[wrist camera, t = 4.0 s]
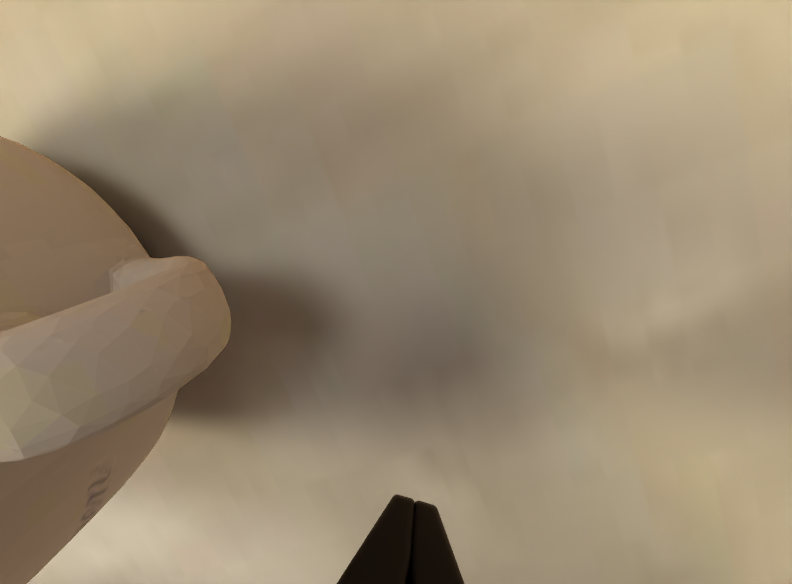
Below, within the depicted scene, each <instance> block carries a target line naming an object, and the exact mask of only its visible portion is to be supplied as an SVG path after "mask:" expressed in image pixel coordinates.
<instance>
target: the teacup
mask: <svg viewBox="0 0 792 584" xmlns="http://www.w3.org/2000/svg"><path fill="white" fill-rule="evenodd" d="M230 332H231V317H230V310H229V307H228V304H227V301H226V298H225V296H224V293H223V290H222V288H221V286H220V285H219V283H218V281H217V279H216V278H215V276H214V275H213V273H212V272H211V271H210V269H209V268H208V266H207V265H206V264H205V263H204V262H203V261H201V260H198V259H196V258H193V257H190V256H174V257H168V258H160V259H158V258H150V256H149V255H148V254H147V252H146V251H145V249H144V248H143V246H142V245H141V244H140V242H139V241H138V239H137V238H136V236H135V235H134V233H133V232H132V231H131V229H130V228H129V226H128V225H127V224H126V223H125V222H124V221H123V220H122V219H121V218H120V217H119V216H118V215H117V213H116V212H115V211H114V210H113V209H112V208H111V207H110V206H109V205H108V204H107V203H106V202H105V201H104V200H103V199H102V198H101V197H100V196H99V195H98V194H97V193H96V192H95V191H94V190H93V189H91V188H90V187H89V186H88V185H86V184H85V183H84V182H82V181H81V180H79V179H78V178H77V177H75V176H74V175H73V174H71V173H70V172H68V171H67V170H65V169H64V168H62V167H61V166H59V165H58V164H56V163H55V162H53V161H52V160H50V159H48V158H47V157H45V156H43V155H41V154H39V153H37V152H35V151H33V150H31V149H29V148H27V147H25V146H23V145H21V144H19V143H16V142H13V141H11V140H8V139H6V138H3V137H1V136H0V584H27V583H28V582H29V581H30V580H31V579H32V578H33V577H34V576H35V575H36V574H37V573H38V572H39V571H40V570H41V569H42V568H43V567H44V566H45V565H46V564H47V563H48V562H49V561H50V560H51V559H52V558H53V557H54V556H55V555H56V554H57V553H58V552H59V551H60V550H61V549H62V548H63V547H64V546H65V545H66V544H67V543H68V542H69V541H70V540H71V539H72V538H73V537H74V536H75V535H76V534H77V533H78V532H79V531H80V530H81V529H82V528H83V527H84V526H85V525H86V524H87V523H88V522H89V521H90V520H91V519H92V518H93V517H94V516H95V515H96V514H97V513H98V512H99V511H100V509H101V508H102V507H103V506H104V505H105V504H106V503H107V502H108V501H109V500H110V499H111V498H112V497H113V496H114V495H115V493H116V492H117V491H118V490H119V489H120V488H121V487H122V486H123V485H124V484H125V482H126V481H127V480H128V479H129V478H130V476H131V475H132V474H133V473H134V472H135V470H136V469H137V468H138V467H139V466H140V464H141V463H142V462H143V461H144V459H145V458H146V457H147V455H148V454H149V452H150V451H151V449H152V448H153V447H154V445H155V444H156V442H157V441H158V439H159V438H160V436H161V434H162V432H163V430H164V428H165V426H166V423H167V421H168V419H169V417H170V414H171V411H172V409H173V406H174V402H175V399H176V395H177V391H178V389H180V388H181V387H182V386H184V385H185V384H186V383H188V382H189V381H191V380H192V379H193V378H195V377H196V376H197V375H199V374H200V373H201V372H203V371H204V370H205V369H207V368H208V366H209V365H210V364H211V363H212V362H213V360H214V359H215V358H216V357H217V356H218V354H219V353H220V352H221V351H222V350H223V349H224V347H225V346H226V345H227V342H228V340H229V337H230Z"/></svg>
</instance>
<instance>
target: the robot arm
mask: <svg viewBox="0 0 792 584" xmlns="http://www.w3.org/2000/svg"><path fill="white" fill-rule="evenodd" d="M337 584H464V581H463V579H462V576H461V573H460V570H459V568H458V565H457V562H456V559H455V556H454V554H453V551H452V548H451V545H450V543H449V540H448V537H447V534H446V532H445V529H444V526H443V523H442V521H441V518H440V515H439V512H438V510H437V508H436V507H435V506H434V505H431V504H428V503H425V502H421V501H416V502H415V503H414V500H413V499H411V498H408V497H404V496H401V495H394V496H393V497H392V499H391V500H390V502H389V504H388V505H387V507H386V508H385V510H384V511H383V513H382V514H381V516H380V517H379V519H378V521H377V522H376V524H375V525H374V527H373V528H372V530H371V531H370V533H369V535H368V536H367V538H366V539H365V541H364V542H363V544H362V545H361V547H360V548H359V550H358V552H357V553H356V555H355V556H354V558H353V559H352V561H351V562H350V564H349V565H348V567H347V569H346V570H345V572H344V573H343V575H342V576H341V578H340V579H339V581H338V583H337Z"/></svg>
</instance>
